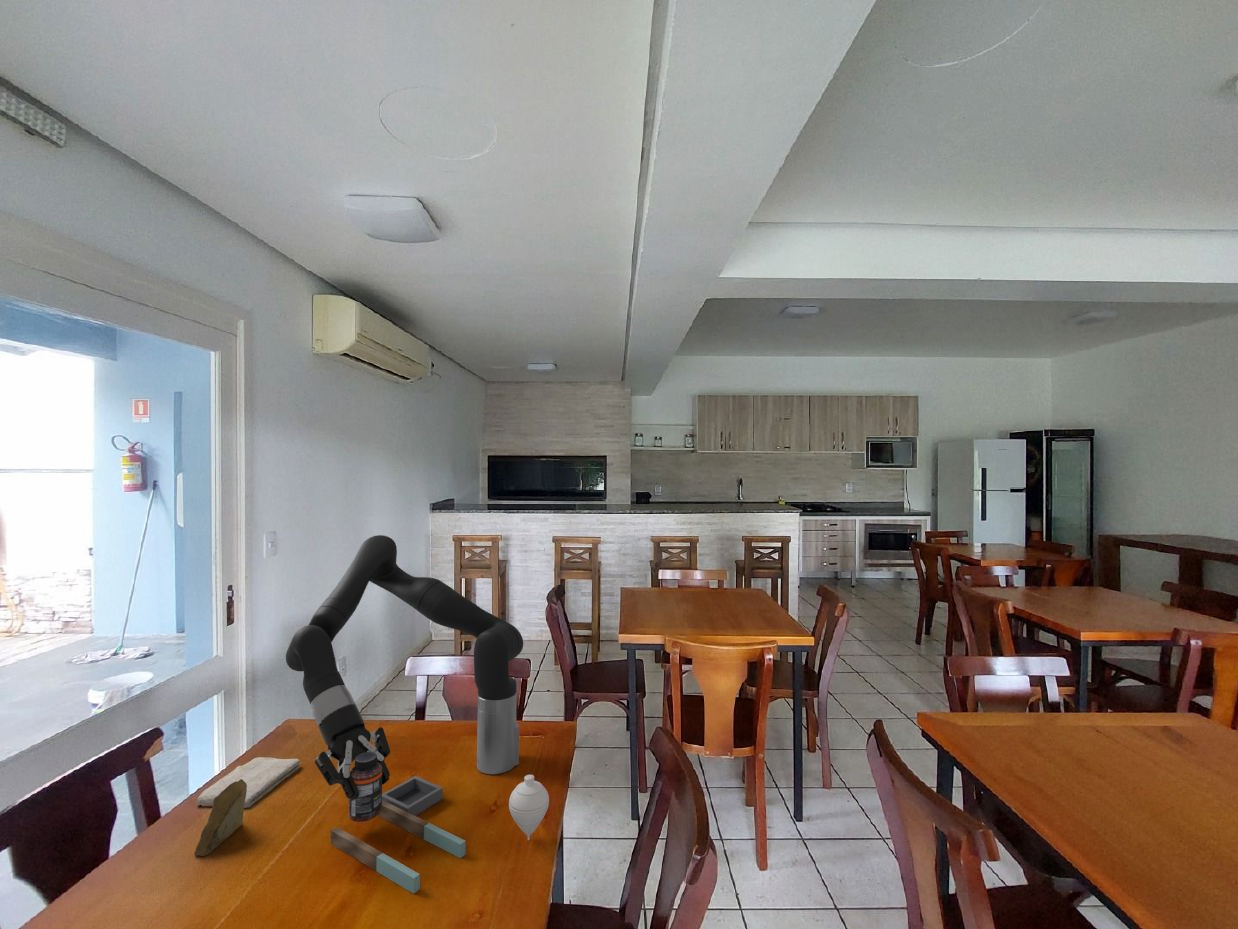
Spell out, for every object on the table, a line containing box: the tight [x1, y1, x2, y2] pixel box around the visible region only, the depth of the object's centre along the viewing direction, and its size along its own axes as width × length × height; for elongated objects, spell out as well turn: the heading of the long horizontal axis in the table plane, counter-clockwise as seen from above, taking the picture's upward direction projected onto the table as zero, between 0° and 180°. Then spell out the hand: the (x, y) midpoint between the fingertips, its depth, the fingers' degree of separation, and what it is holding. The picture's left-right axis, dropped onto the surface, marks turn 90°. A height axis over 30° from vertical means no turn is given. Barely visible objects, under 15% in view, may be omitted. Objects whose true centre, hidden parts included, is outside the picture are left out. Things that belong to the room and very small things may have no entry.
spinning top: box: [508, 774, 550, 841], centre depth 107 cm, size 8×8×12 cm
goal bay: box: [375, 822, 467, 894], centre depth 100 cm, size 10×11×2 cm
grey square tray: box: [382, 775, 444, 817], centre depth 118 cm, size 9×9×2 cm
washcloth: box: [195, 756, 301, 809], centre depth 125 cm, size 12×18×3 cm, turn 176°
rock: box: [193, 779, 247, 857], centre depth 106 cm, size 11×9×10 cm
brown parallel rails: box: [330, 801, 429, 872], centre depth 106 cm, size 14×11×2 cm
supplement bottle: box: [348, 751, 383, 823], centre depth 109 cm, size 6×6×11 cm
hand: (370, 789), depth 108 cm, fingers closed on supplement bottle, 6 cm apart
